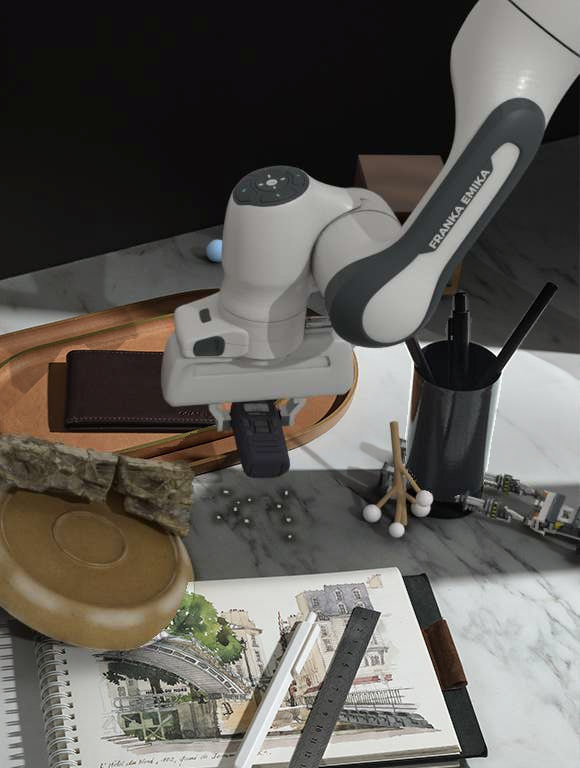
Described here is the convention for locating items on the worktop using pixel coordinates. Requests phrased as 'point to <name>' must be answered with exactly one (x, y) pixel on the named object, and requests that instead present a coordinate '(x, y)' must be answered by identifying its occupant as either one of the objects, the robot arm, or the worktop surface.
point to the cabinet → (398, 178)
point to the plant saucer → (88, 569)
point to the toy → (545, 514)
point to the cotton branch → (400, 492)
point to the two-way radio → (259, 438)
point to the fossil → (101, 478)
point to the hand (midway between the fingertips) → (253, 425)
